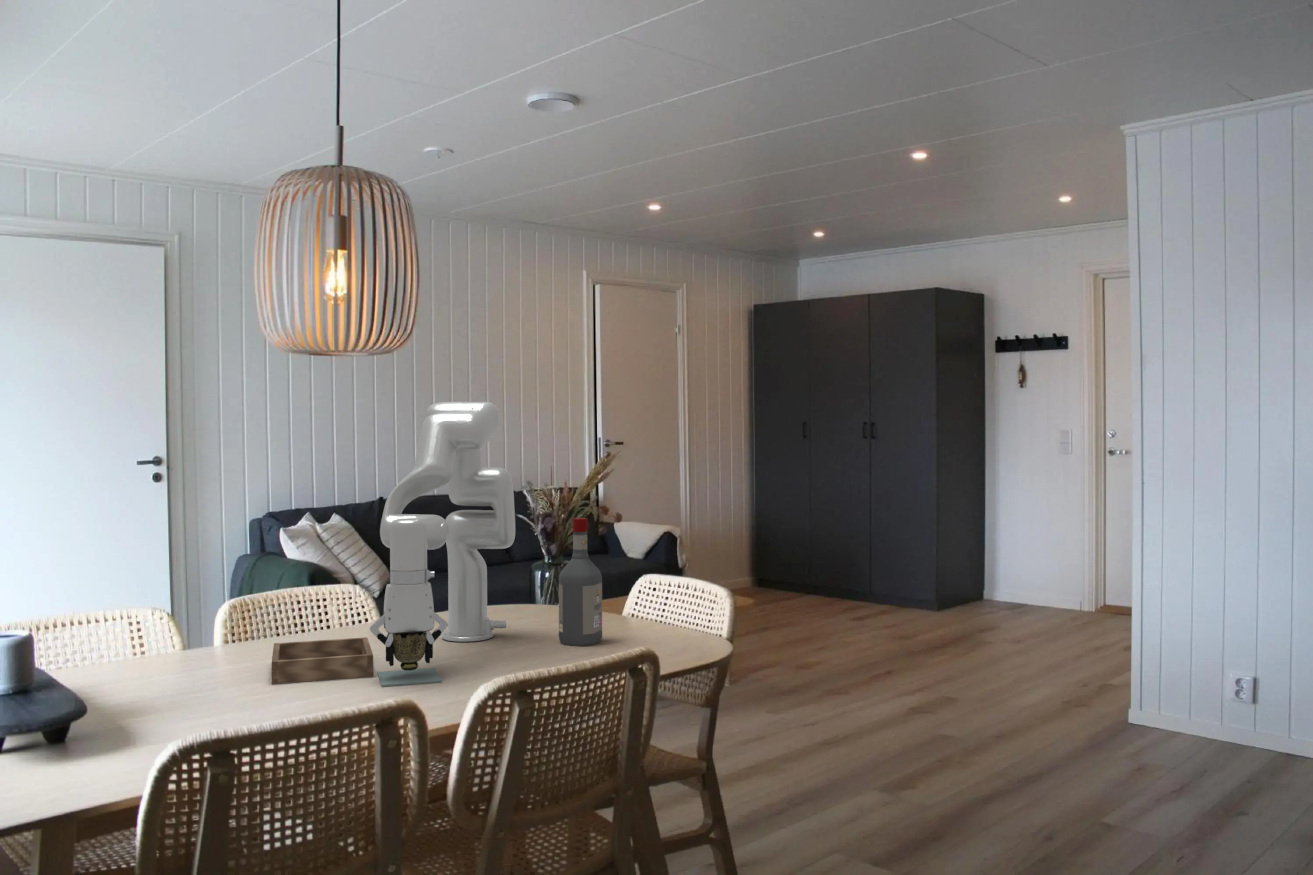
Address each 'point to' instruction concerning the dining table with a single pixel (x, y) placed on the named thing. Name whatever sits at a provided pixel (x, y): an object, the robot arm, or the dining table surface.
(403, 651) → the cup
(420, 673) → the mat
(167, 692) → the dining table surface
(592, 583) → the liquor
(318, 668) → the walnut box
